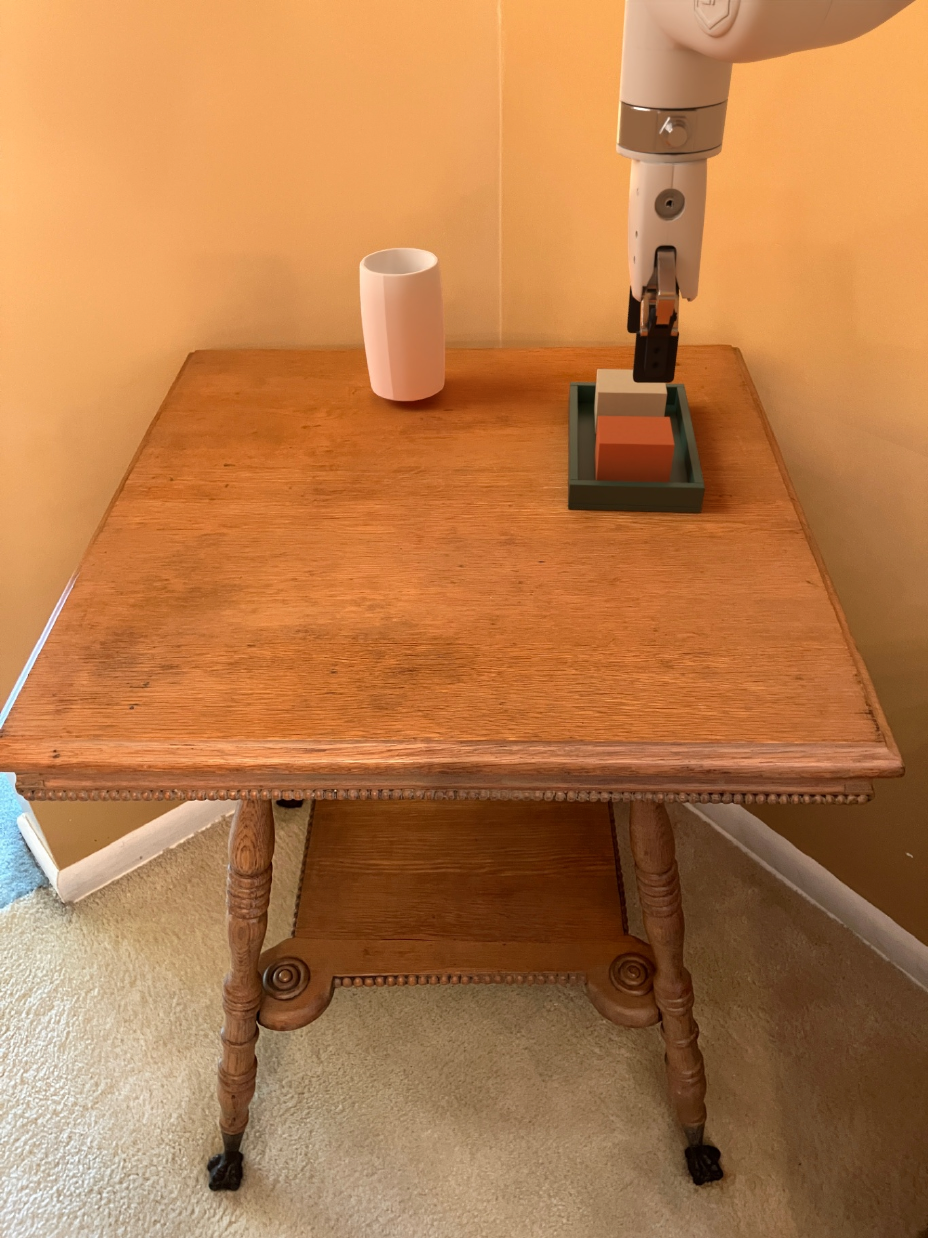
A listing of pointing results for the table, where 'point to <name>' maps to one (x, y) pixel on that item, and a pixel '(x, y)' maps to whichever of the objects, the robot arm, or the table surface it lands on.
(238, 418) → the table surface
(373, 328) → the cup
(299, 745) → the table surface
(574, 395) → the tray
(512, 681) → the table surface
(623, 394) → the cream white rectangular block
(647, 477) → the orange-red block
